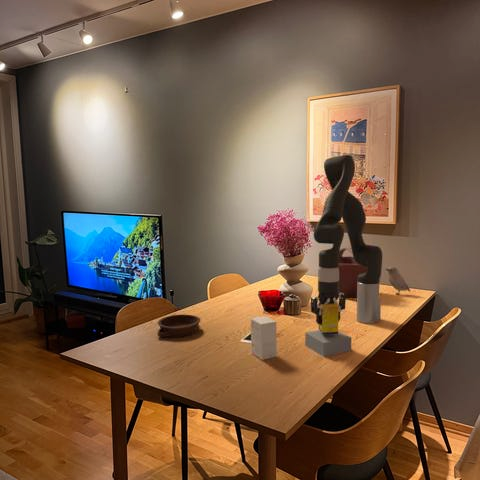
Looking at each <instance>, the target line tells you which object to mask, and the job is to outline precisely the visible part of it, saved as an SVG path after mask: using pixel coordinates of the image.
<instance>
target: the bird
mask: <svg viewBox="0 0 480 480" xmlns="http://www.w3.org/2000/svg"><path fill="white" fill-rule="evenodd" d="M384 269H385V271H387V272H388V273H387V275H388V276H387V277H388V281H389V283H390V285H391V286H392V287H393V288H394V289H395V290H397V292H395V294H396V296H400V295H401V292H402V291H404V292H406V291H408V292H409V293H411V289H410V287H409V286H408V284H407V282H406V281H405V278H404V277H403V275H402V274H401V273H400V271H399V270H398V269H397V268H396V267H395V266H389V267H388V268H384Z"/></svg>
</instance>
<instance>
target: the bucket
mask: <svg viewBox="0 0 480 480" xmlns="http://www.w3.org/2000/svg"><path fill="white" fill-rule="evenodd" d="M346 250H347V251H348V252H350V253H351V254H352V255H353V253H352V248H351V247H343V248H340V251H339V292H338V294H339V293H340V292H341V293H344V294H346V299H352V300H353V299H354V300H355V299H356V300H357V278H358V275H359V274H362V273H366V272H367V266H362V265H359V264H357V263H356V262H355V260H354V257H353V256H350V255H349V256H343V254H344V253H345V251H346Z"/></svg>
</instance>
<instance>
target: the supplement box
mask: <svg viewBox="0 0 480 480" xmlns="http://www.w3.org/2000/svg"><path fill="white" fill-rule="evenodd" d="M320 306H322V308H323V309H322V314H321V315H322V325H319V324H318V330H320V331H321V332H322V334H323V335H324V334H338V331H339V322H338V311H339V305H337V304H335V303H331V304H327V305H323V304H321V303H320Z"/></svg>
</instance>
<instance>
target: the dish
mask: <svg viewBox="0 0 480 480" xmlns="http://www.w3.org/2000/svg"><path fill="white" fill-rule="evenodd" d="M200 322H201V317H198V316H196V315H192V314H173V315H172V314H171V315H168V316H165V317H162V318H160V319H159V320H158V321H157V325H158V326H159V329H158V330H157V336H158V337H172V338H173V337H177V338H179V337H186V336H189V335H192V334H194V333H195V332H196V331H197V329H198V328H199V323H200Z"/></svg>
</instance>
